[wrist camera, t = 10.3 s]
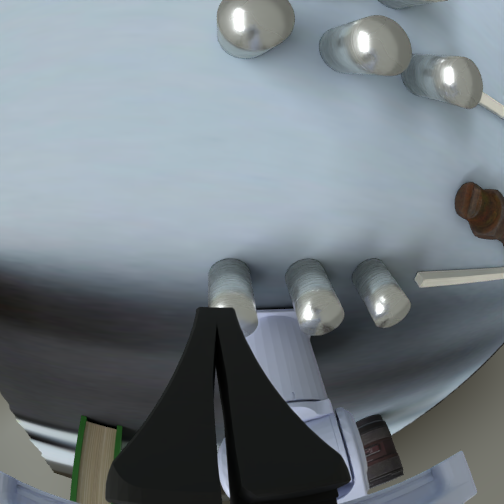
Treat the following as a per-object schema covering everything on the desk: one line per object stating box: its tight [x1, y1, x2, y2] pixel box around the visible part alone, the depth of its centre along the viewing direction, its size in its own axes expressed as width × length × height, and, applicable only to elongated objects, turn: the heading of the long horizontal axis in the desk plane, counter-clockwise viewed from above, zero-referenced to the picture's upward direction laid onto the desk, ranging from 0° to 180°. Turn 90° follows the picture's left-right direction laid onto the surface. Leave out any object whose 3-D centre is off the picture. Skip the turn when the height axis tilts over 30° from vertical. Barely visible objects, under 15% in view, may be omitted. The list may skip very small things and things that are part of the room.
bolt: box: [455, 182, 504, 246], centre depth 20 cm, size 6×5×15 cm
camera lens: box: [356, 415, 404, 489], centre depth 41 cm, size 8×8×15 cm
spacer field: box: [208, 0, 483, 337], centre depth 15 cm, size 26×15×5 cm, turn 175°
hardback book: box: [70, 416, 122, 504], centre depth 31 cm, size 18×7×24 cm, turn 157°
